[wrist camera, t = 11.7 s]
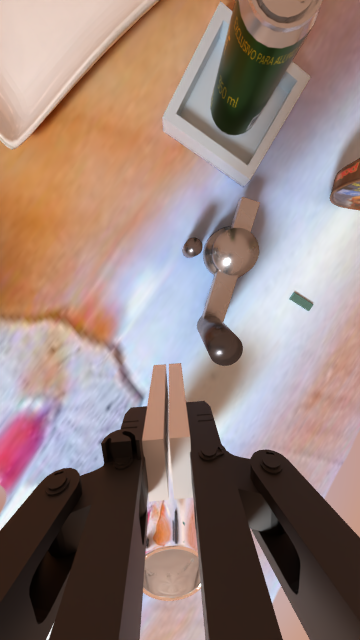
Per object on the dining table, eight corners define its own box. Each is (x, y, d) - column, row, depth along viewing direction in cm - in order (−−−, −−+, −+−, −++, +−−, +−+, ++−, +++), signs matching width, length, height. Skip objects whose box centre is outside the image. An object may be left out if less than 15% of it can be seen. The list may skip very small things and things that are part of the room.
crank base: (179, 253, 29) (181, 250, 24) (204, 209, 28) (211, 197, 23) (297, 326, 32) (320, 336, 27) (323, 288, 31) (352, 292, 26)
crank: (226, 195, 25) (254, 160, 17) (268, 209, 26) (315, 181, 18) (186, 332, 29) (193, 358, 20) (224, 341, 29) (246, 371, 21)
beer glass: (185, 421, 34) (197, 535, 20) (199, 458, 36) (220, 590, 21) (140, 435, 34) (120, 559, 20) (156, 471, 36) (147, 611, 21)
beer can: (267, 101, 25) (351, -43, 14) (240, 149, 26) (297, 53, 14) (226, 69, 24) (278, -113, 13) (199, 120, 25) (225, -6, 14)
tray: (163, 130, 26) (162, 117, 24) (215, 27, 24) (220, 1, 22) (243, 187, 28) (250, 179, 25) (298, 94, 26) (310, 76, 23)
